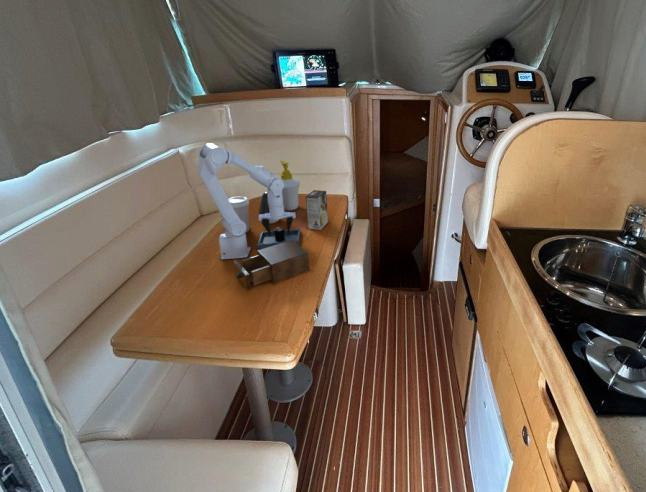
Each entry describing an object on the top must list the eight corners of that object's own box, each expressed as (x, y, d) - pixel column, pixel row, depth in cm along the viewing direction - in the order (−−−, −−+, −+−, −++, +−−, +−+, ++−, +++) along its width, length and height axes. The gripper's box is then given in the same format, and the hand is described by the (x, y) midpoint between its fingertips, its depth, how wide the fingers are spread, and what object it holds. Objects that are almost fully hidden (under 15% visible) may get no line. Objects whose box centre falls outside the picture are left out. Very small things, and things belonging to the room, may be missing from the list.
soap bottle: (295, 202, 196) (291, 158, 187) (306, 209, 187) (302, 163, 178) (272, 207, 188) (267, 161, 180) (282, 214, 179) (277, 167, 170)
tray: (257, 248, 147) (257, 244, 146) (262, 235, 158) (261, 231, 157) (298, 245, 150) (298, 241, 149) (300, 233, 161) (300, 229, 160)
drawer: (243, 291, 118) (241, 276, 116) (232, 276, 126) (229, 262, 124) (283, 276, 126) (281, 262, 124) (270, 263, 134) (268, 250, 132)
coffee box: (316, 220, 173) (313, 189, 167) (328, 222, 172) (326, 190, 166) (307, 228, 165) (305, 196, 159) (321, 230, 164) (318, 197, 158)
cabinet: (274, 283, 124) (271, 264, 121) (259, 268, 133) (257, 250, 130) (309, 270, 132) (308, 252, 129) (293, 256, 141) (292, 239, 138)
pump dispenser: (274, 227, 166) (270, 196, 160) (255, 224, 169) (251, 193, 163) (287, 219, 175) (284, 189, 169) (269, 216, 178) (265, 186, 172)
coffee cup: (257, 229, 164) (253, 198, 158) (239, 237, 156) (234, 205, 151) (243, 224, 168) (239, 194, 163) (225, 231, 161) (220, 200, 155)
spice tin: (281, 242, 151) (280, 231, 149) (273, 240, 152) (272, 230, 150) (286, 238, 155) (285, 227, 153) (278, 236, 156) (277, 226, 154)
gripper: (256, 209, 142) (260, 239, 147) (293, 206, 145) (296, 236, 150) (258, 202, 149) (262, 232, 154) (294, 200, 152) (297, 229, 157)
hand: (279, 234), depth 152 cm, fingers open, 7 cm apart
